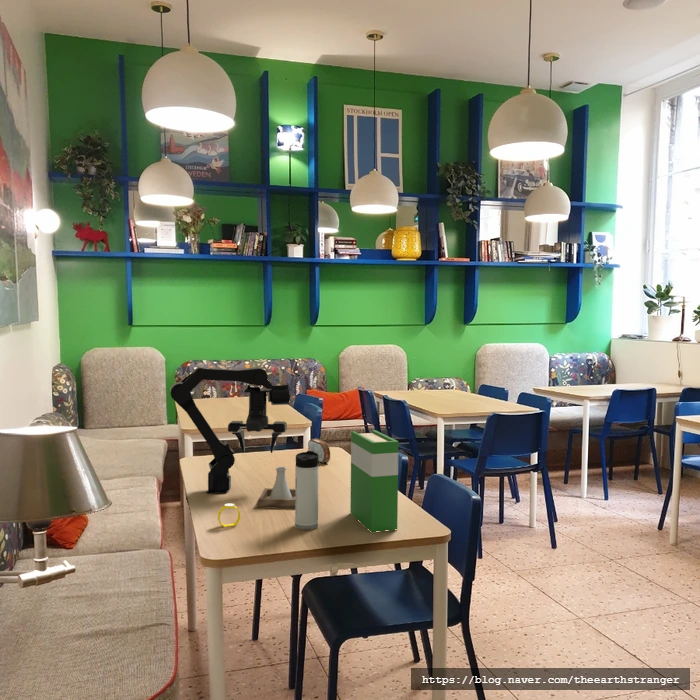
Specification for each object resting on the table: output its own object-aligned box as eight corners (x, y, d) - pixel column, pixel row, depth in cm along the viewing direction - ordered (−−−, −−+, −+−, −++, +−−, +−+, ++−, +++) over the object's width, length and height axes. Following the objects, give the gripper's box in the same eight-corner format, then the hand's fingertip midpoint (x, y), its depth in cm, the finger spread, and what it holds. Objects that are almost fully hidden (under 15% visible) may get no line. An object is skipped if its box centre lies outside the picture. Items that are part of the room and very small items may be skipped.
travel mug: (321, 523, 172) (321, 451, 171) (314, 530, 166) (315, 456, 165) (299, 521, 173) (299, 450, 172) (291, 528, 167) (292, 454, 166)
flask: (293, 502, 189) (294, 470, 188) (269, 504, 187) (270, 471, 187) (291, 496, 196) (291, 464, 195) (268, 497, 194) (268, 465, 194)
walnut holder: (258, 507, 186) (258, 499, 186) (265, 496, 198) (265, 488, 198) (298, 508, 186) (298, 499, 185) (302, 496, 198) (302, 488, 197)
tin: (330, 464, 243) (331, 443, 242) (323, 465, 241) (323, 443, 241) (313, 457, 256) (313, 436, 255) (306, 457, 254) (306, 437, 254)
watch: (238, 524, 171) (240, 502, 171) (240, 527, 169) (242, 505, 169) (216, 525, 169) (218, 503, 169) (218, 528, 167) (219, 506, 166)
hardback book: (350, 513, 181) (351, 431, 180) (374, 511, 184) (375, 430, 182) (371, 533, 164) (372, 442, 163) (397, 530, 167) (398, 441, 166)
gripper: (224, 408, 198) (224, 457, 199) (282, 409, 197) (282, 458, 198) (231, 404, 209) (231, 450, 210) (287, 404, 209) (286, 450, 209)
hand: (257, 452), depth 206 cm, fingers open, 9 cm apart
